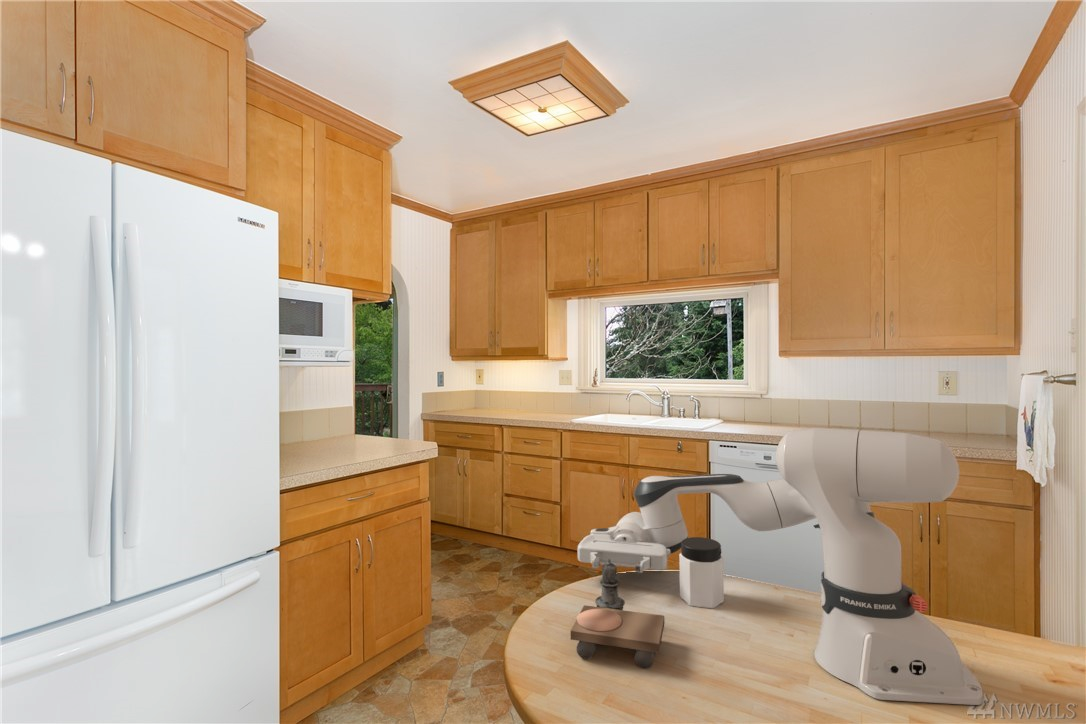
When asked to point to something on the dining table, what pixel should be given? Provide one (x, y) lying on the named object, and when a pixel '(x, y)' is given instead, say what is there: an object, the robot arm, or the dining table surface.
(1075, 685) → the dining table surface
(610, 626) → the roller slab
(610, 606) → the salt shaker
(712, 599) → the jar
